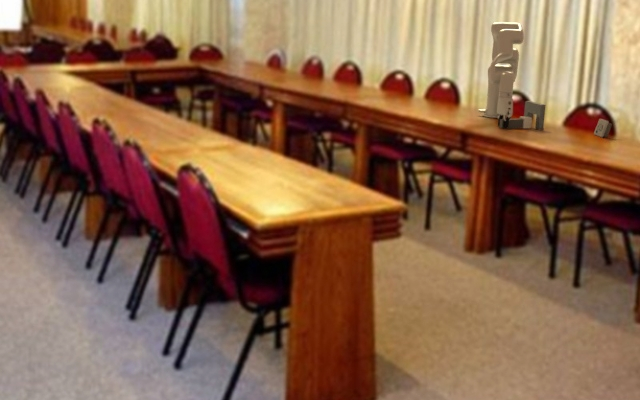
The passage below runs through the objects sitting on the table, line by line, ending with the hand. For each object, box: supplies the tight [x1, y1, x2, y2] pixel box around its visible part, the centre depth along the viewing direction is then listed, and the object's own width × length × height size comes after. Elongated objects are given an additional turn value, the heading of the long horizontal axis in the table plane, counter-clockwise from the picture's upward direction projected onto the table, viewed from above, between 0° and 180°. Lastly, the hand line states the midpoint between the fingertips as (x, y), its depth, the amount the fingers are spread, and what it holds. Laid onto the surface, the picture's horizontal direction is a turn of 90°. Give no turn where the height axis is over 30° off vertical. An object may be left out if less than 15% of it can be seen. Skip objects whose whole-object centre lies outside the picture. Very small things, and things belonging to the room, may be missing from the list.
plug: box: [498, 115, 533, 130], centre depth 494 cm, size 18×5×6 cm, turn 110°
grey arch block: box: [523, 100, 546, 130], centre depth 497 cm, size 3×16×14 cm, turn 20°
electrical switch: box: [593, 118, 613, 138], centre depth 475 cm, size 9×5×9 cm, turn 10°
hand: (503, 126), depth 492 cm, fingers open, 4 cm apart
